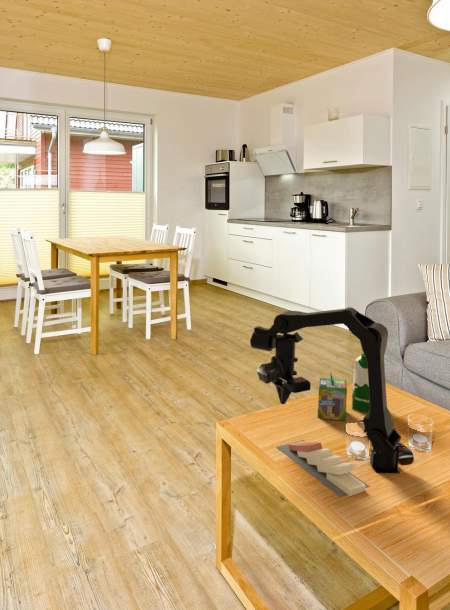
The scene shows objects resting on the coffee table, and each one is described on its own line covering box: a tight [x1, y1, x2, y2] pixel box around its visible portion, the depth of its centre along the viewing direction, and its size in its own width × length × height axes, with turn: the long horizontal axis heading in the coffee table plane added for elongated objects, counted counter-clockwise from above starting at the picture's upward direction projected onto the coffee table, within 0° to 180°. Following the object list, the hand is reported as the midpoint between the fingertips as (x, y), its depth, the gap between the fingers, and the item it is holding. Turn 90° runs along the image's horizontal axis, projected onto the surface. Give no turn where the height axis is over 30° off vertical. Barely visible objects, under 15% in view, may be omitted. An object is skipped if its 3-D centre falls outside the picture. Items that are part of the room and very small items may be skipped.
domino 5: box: [326, 472, 366, 497], centre depth 129 cm, size 2×5×9 cm
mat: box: [275, 439, 371, 498], centre depth 138 cm, size 28×10×1 cm, turn 29°
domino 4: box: [317, 462, 355, 475], centre depth 132 cm, size 2×5×9 cm
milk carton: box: [351, 353, 370, 414], centre depth 175 cm, size 9×9×20 cm
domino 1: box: [288, 440, 323, 452], centre depth 144 cm, size 2×5×9 cm
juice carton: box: [317, 371, 348, 422], centre depth 170 cm, size 9×9×15 cm
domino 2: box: [297, 447, 333, 459], centre depth 140 cm, size 2×5×9 cm
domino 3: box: [307, 454, 343, 467], centre depth 136 cm, size 2×5×9 cm
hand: (282, 403), depth 152 cm, fingers closed
